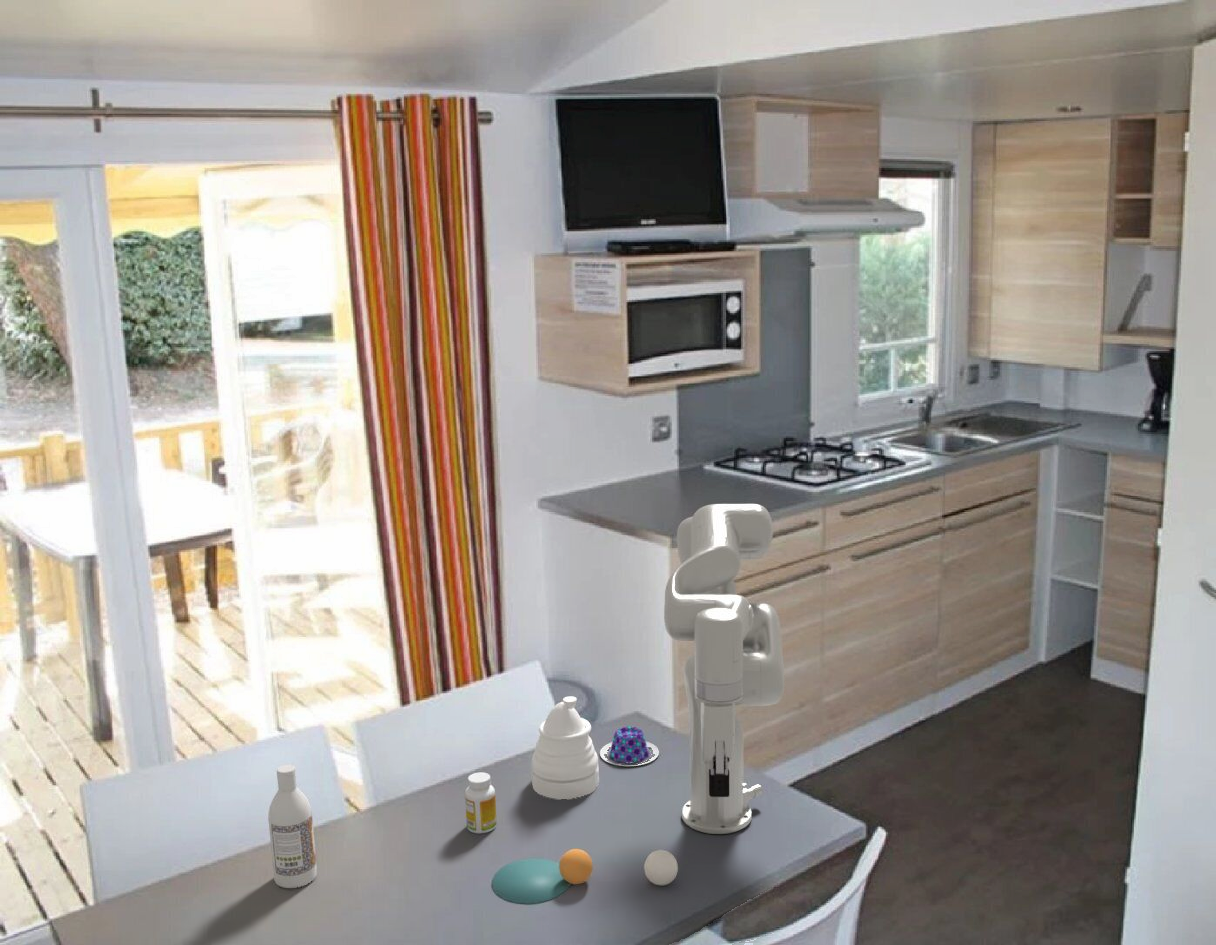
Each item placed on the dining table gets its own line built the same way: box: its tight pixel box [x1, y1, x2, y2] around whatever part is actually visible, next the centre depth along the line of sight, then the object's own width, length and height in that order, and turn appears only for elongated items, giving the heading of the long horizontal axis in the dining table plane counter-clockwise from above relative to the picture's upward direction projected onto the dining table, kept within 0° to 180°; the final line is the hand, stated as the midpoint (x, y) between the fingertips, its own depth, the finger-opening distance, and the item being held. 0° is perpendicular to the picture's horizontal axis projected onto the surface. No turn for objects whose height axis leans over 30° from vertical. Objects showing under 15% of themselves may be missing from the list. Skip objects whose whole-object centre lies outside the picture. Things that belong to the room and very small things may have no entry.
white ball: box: [643, 849, 679, 886], centre depth 194 cm, size 6×6×6 cm
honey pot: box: [531, 695, 600, 800], centre depth 227 cm, size 13×13×18 cm
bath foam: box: [268, 764, 318, 889], centre depth 196 cm, size 7×7×20 cm
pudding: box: [599, 726, 660, 767], centre depth 239 cm, size 12×12×5 cm
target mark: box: [491, 857, 571, 905], centre depth 196 cm, size 13×13×1 cm
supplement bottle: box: [464, 771, 498, 834], centre depth 212 cm, size 5×5×10 cm
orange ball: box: [559, 848, 594, 885], centre depth 195 cm, size 6×6×6 cm
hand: (719, 794), depth 190 cm, fingers closed
